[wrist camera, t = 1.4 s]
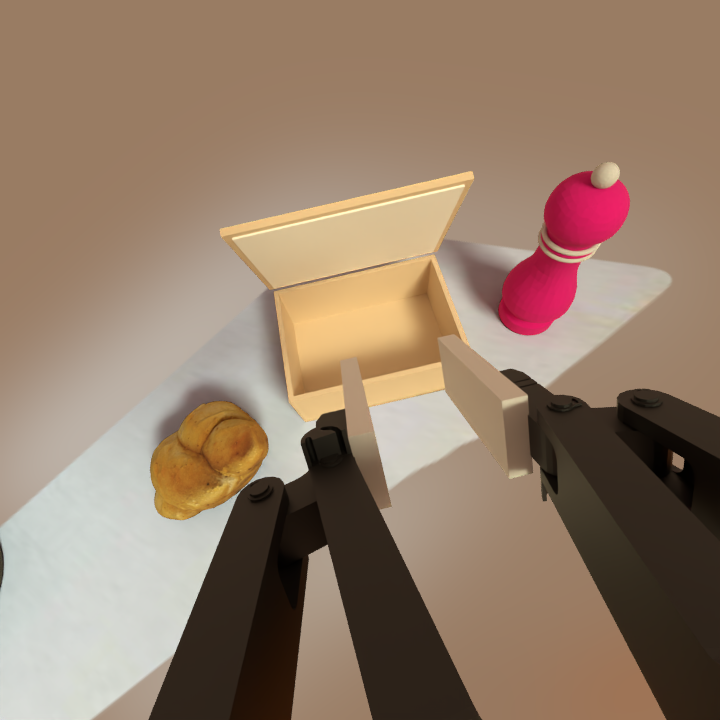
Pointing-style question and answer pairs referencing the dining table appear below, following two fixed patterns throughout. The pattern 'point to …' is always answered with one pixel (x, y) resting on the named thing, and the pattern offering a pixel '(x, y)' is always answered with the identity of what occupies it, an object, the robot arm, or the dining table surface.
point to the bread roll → (206, 460)
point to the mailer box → (366, 334)
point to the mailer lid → (349, 232)
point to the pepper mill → (563, 248)
